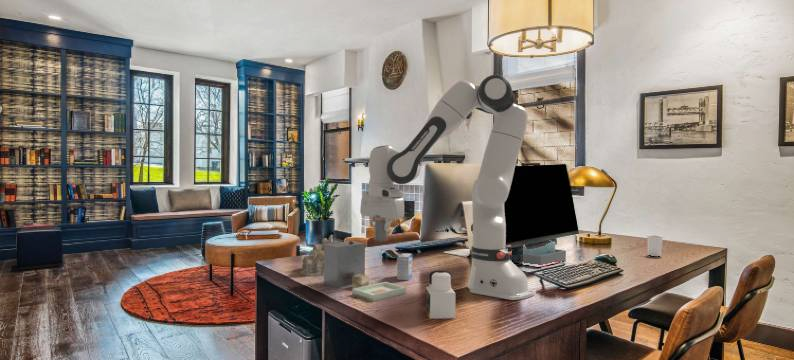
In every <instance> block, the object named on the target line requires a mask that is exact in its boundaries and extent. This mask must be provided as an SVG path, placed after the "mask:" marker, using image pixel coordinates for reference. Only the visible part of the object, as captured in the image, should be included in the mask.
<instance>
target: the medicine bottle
mask: <svg viewBox="0 0 794 360" xmlns="http://www.w3.org/2000/svg"><path fill="white" fill-rule="evenodd" d="M428 283H429V285H428V286H425V313H426V315H427V317H428V319H430V320H434V319H435V320H438V319H442V320H443V319H455V318H456V292H455V291H454V289H453V288H452V273H450V272H449V271H447V270H433V271H430V273H429V282H428Z"/></svg>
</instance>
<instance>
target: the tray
mask: <svg viewBox="0 0 794 360" xmlns="http://www.w3.org/2000/svg"><path fill="white" fill-rule="evenodd" d="M351 292H352V296H354V297H357V298H360V299H363V300H366V301H369V302H372V303H373V302H377V301H381V300H386V299H390V298H394V297H397V296H401V295H405V294H407V287H405V286H402V285H398V284H395V283H391V282H388V281H383V282H377V283H374V284H369V285H368V286H363V287H358V288H352V289H351Z"/></svg>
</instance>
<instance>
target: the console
mask: <svg viewBox="0 0 794 360" xmlns="http://www.w3.org/2000/svg"><path fill="white" fill-rule="evenodd" d="M359 274H362V275H366V243H363V242H358V241H353V240H349V241H341V242H333V243H331V244H324V275H323V285H326V286H329V287H331V288H336V289H341V288H344V287H345V288H347V287H351V286H352V285H353V276H355V275H359Z"/></svg>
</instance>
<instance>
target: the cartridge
mask: <svg viewBox="0 0 794 360" xmlns="http://www.w3.org/2000/svg"><path fill="white" fill-rule="evenodd" d="M385 224H386V221H385V218H381V217H380V216H378V215H375V229H374V241H375V242H387V241H388V231H384V230H383V229H384V228H383V226H385Z"/></svg>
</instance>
